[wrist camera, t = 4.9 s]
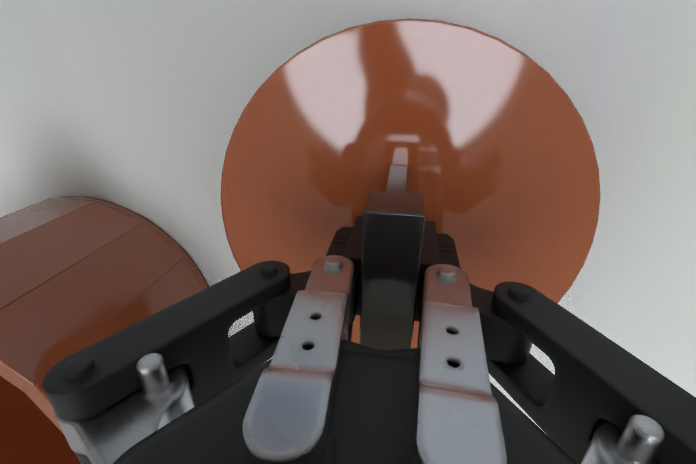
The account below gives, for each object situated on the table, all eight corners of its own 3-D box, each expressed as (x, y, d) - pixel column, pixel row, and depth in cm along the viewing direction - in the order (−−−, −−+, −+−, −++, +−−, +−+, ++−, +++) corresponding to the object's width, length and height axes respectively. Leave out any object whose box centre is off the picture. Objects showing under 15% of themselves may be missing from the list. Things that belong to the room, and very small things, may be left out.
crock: (66, 392, 30) (-82, 534, 21) (-45, 144, 21) (-371, 207, 13) (236, 419, 28) (152, 589, 19) (188, 155, 19) (-6, 240, 10)
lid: (250, 334, 22) (190, 438, 16) (207, 22, 15) (72, 1, 9) (538, 367, 19) (593, 502, 14) (646, 19, 13) (849, -10, 7)
